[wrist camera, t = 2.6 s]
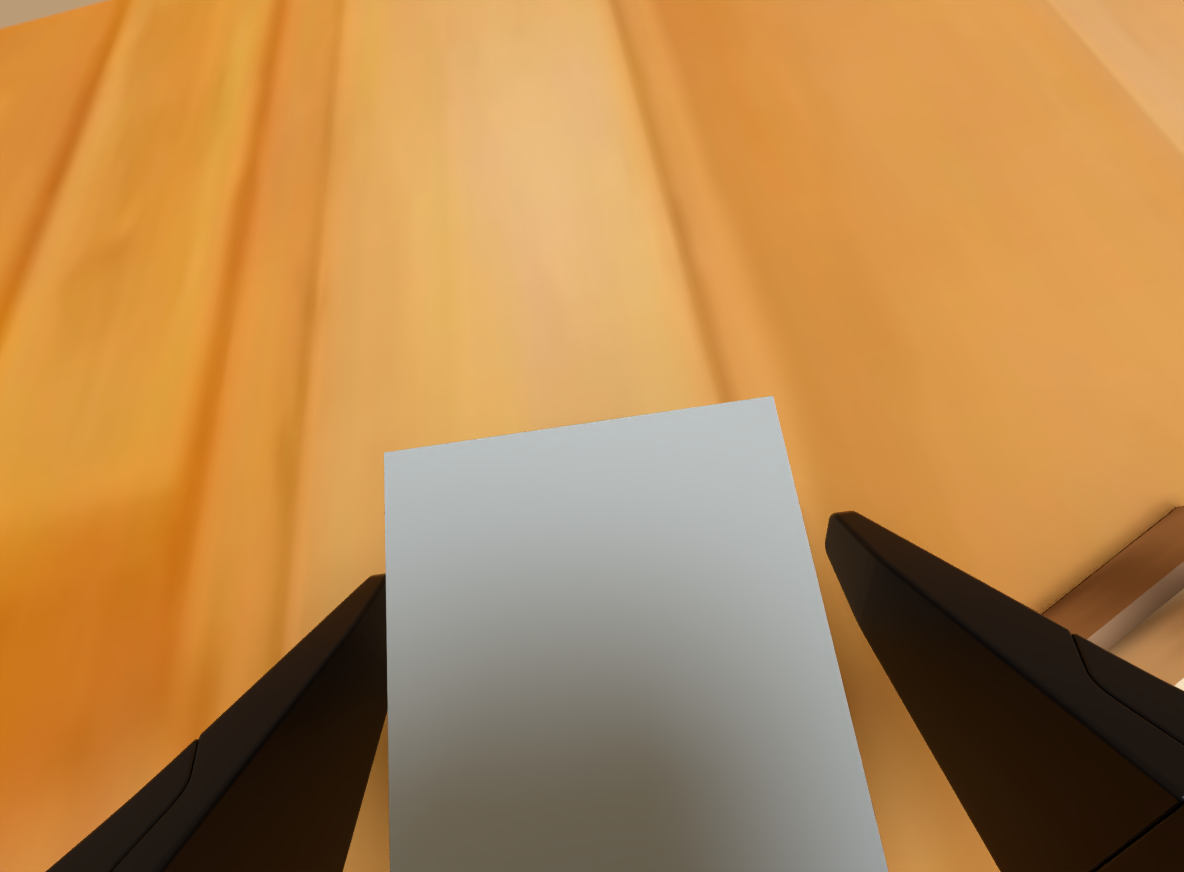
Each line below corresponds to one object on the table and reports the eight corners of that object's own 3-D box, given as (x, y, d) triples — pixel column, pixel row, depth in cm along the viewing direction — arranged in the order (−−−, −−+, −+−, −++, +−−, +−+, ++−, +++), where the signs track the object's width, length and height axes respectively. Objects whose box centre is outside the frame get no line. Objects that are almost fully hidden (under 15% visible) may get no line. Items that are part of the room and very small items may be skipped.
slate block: (692, 628, 16) (891, 880, 4) (565, 644, 16) (389, 930, 4) (671, 500, 17) (773, 395, 5) (552, 516, 17) (384, 452, 5)
